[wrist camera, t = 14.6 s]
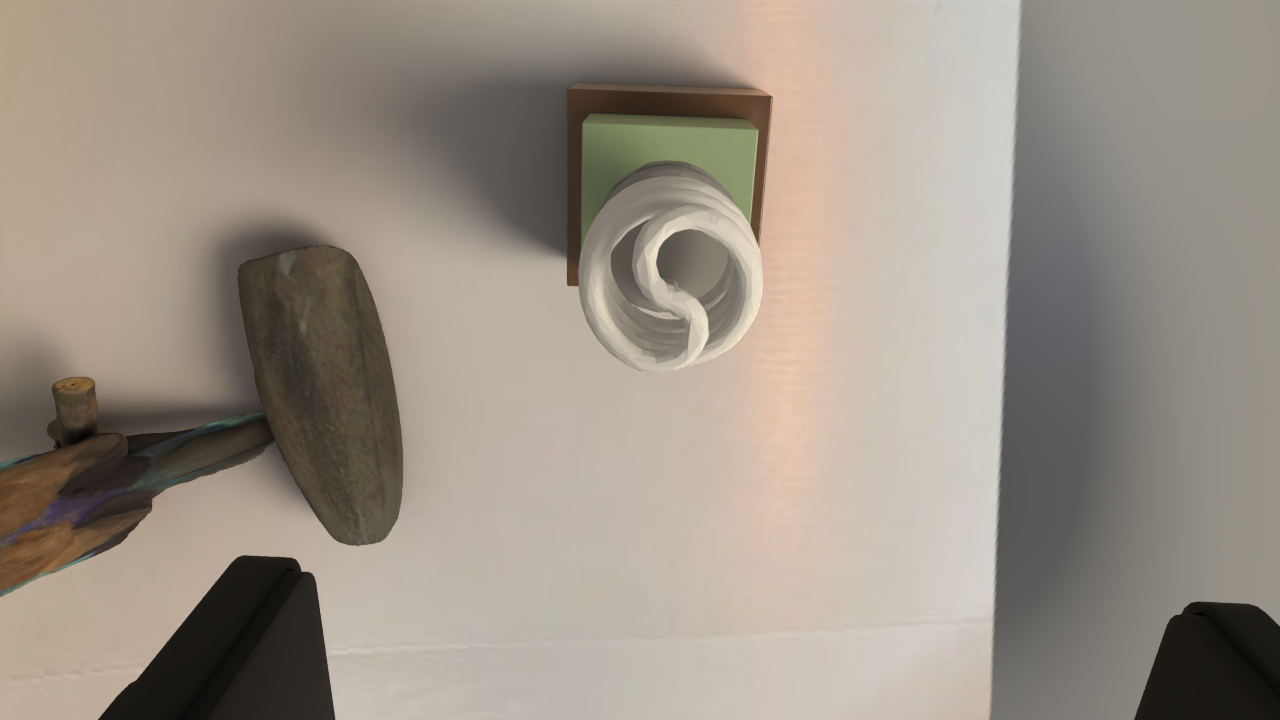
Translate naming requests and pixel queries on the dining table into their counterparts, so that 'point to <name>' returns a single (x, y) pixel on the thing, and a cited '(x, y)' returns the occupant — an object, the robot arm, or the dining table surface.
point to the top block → (665, 153)
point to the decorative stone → (326, 386)
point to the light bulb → (669, 268)
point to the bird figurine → (102, 482)
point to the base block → (658, 103)
